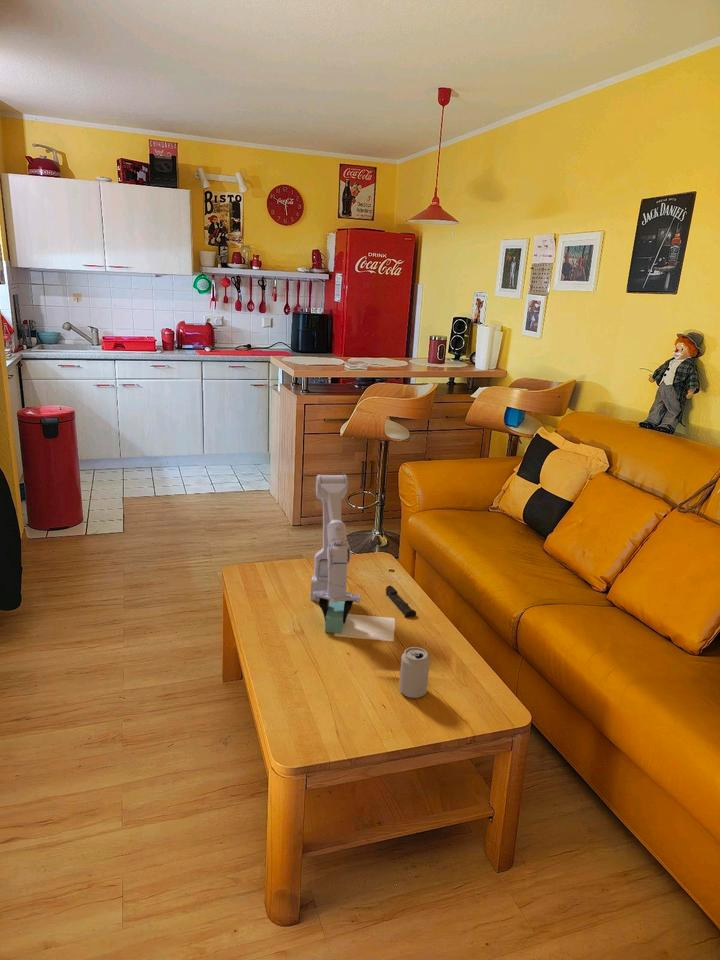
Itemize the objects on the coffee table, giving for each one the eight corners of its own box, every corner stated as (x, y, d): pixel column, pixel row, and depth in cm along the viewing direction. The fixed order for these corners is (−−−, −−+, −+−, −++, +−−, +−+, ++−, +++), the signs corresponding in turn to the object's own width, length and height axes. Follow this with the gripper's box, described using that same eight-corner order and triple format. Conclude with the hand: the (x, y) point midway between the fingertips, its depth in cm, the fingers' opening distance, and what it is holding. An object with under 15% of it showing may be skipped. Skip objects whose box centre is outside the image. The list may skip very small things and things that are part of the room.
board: (333, 640, 199) (334, 635, 199) (339, 617, 213) (339, 613, 212) (393, 645, 198) (393, 641, 198) (394, 622, 212) (395, 618, 211)
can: (418, 703, 172) (422, 663, 168) (393, 693, 176) (396, 654, 172) (431, 689, 178) (435, 650, 174) (406, 680, 182) (410, 641, 178)
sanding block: (324, 631, 200) (325, 617, 199) (329, 614, 211) (330, 600, 209) (341, 633, 200) (342, 618, 199) (345, 615, 211) (345, 601, 209)
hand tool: (416, 621, 213) (417, 608, 212) (404, 622, 212) (405, 609, 211) (393, 594, 230) (394, 582, 229) (383, 595, 229) (383, 583, 228)
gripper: (311, 585, 198) (310, 625, 202) (359, 589, 197) (357, 629, 201) (315, 575, 205) (313, 614, 209) (361, 579, 204) (359, 618, 208)
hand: (335, 620), depth 205 cm, fingers closed on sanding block, 5 cm apart
